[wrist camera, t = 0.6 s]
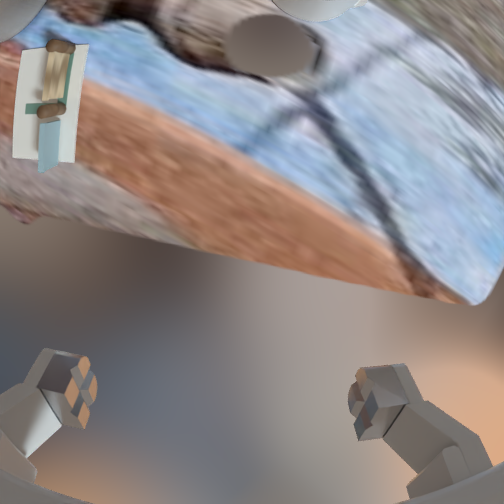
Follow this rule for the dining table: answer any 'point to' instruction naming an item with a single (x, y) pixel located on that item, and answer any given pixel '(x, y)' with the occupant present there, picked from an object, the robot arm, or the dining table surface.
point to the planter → (17, 16)
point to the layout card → (31, 99)
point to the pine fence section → (55, 77)
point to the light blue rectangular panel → (48, 145)
